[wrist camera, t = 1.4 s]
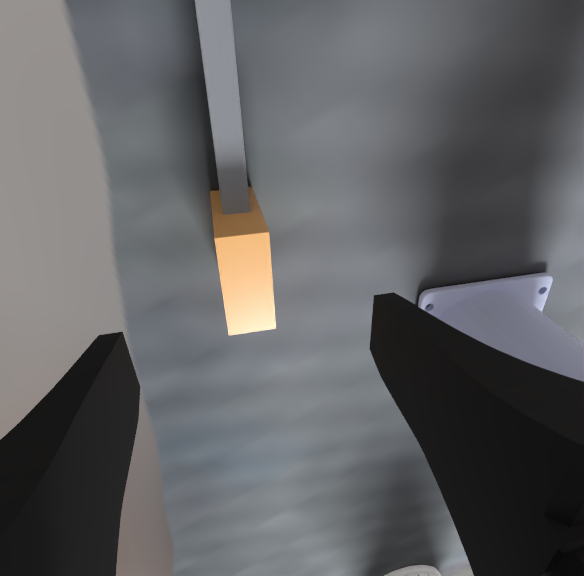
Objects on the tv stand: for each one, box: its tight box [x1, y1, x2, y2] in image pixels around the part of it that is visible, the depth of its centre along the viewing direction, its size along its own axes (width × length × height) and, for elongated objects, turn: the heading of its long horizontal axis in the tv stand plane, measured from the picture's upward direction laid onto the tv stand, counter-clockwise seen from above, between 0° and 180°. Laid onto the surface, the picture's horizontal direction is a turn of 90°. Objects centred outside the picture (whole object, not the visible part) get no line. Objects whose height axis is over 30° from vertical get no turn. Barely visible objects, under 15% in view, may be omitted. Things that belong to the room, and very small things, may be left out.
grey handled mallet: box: [194, 0, 276, 335], centre depth 14 cm, size 14×2×5 cm, turn 2°
